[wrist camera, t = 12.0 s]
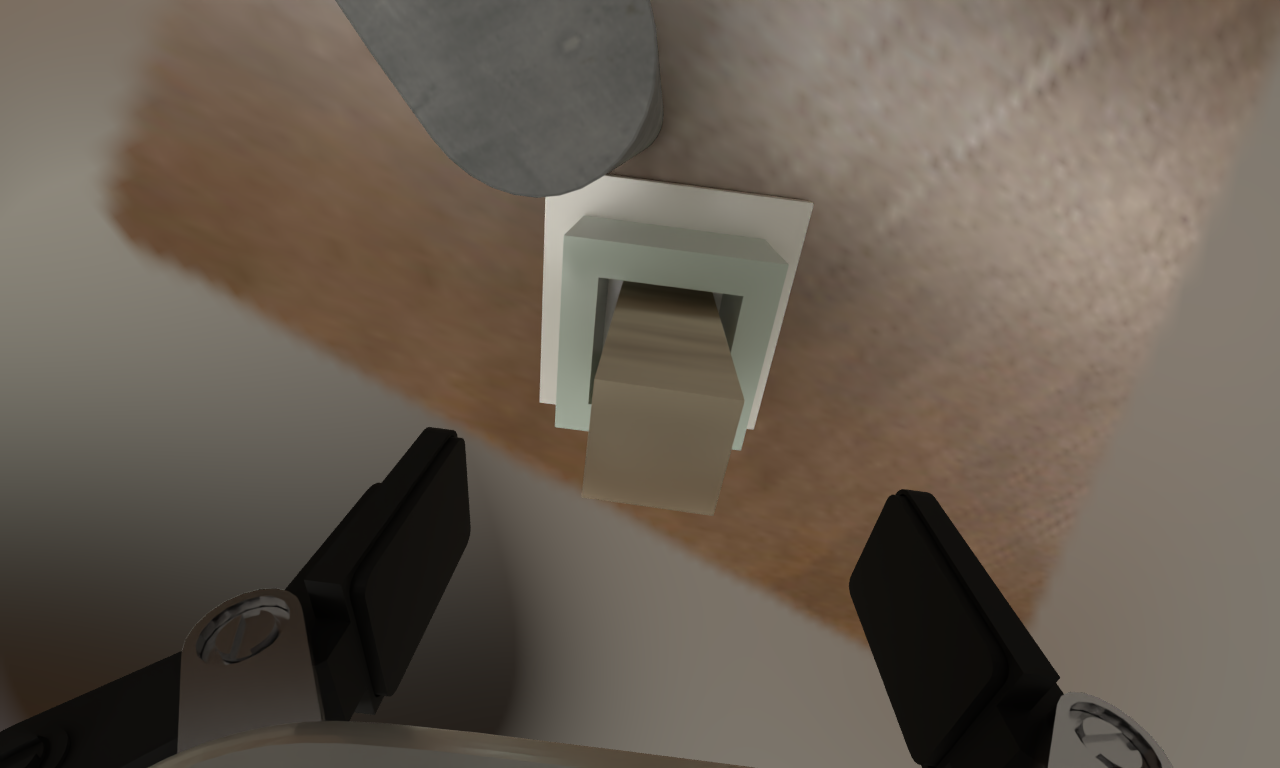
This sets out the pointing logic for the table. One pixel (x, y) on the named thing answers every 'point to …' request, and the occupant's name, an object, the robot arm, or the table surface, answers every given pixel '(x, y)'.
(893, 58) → the table surface
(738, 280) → the socket holder
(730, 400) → the beech peg
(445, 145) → the hip flask
